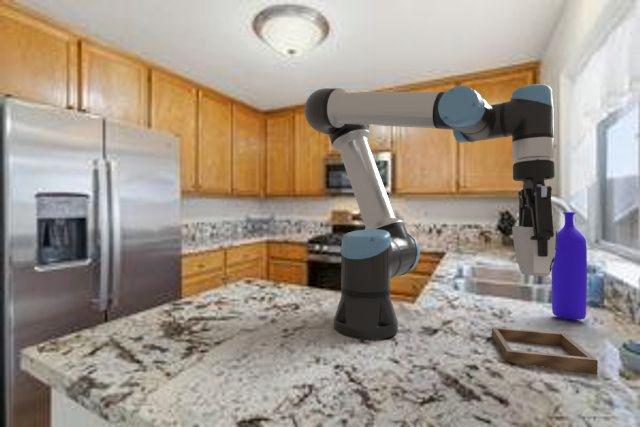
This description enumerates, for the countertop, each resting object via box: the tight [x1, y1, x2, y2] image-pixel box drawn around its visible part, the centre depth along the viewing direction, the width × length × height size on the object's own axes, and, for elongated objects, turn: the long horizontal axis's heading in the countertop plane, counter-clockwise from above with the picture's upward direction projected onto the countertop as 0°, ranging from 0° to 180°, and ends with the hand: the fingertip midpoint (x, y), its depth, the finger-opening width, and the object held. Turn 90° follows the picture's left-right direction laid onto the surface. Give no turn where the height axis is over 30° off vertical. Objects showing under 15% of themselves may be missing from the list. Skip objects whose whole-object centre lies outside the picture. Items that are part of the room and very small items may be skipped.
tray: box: [491, 326, 598, 375], centre depth 74 cm, size 15×15×2 cm
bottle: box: [551, 211, 588, 321], centre depth 101 cm, size 8×8×30 cm
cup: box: [511, 225, 558, 277], centre depth 74 cm, size 8×8×10 cm
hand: (534, 269), depth 74 cm, fingers closed on cup, 7 cm apart
